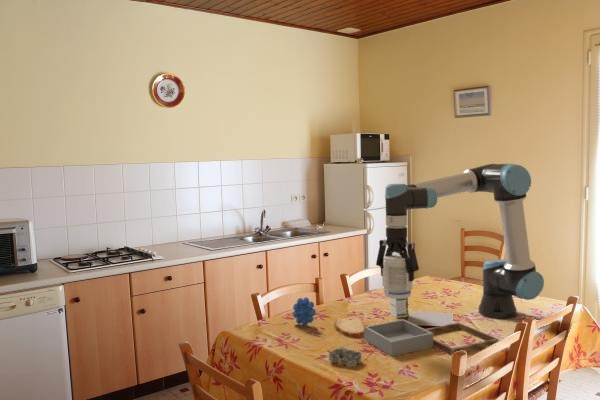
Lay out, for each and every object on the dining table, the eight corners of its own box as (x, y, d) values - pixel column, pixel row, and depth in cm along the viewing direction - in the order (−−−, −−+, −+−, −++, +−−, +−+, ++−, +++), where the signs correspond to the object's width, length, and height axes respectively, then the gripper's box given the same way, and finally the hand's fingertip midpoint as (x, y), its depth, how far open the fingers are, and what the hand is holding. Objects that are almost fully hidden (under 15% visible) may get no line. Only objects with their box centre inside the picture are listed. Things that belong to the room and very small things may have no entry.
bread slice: (362, 340, 193) (361, 330, 193) (321, 332, 203) (321, 323, 203) (382, 326, 208) (382, 317, 207) (343, 319, 218) (343, 310, 218)
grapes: (322, 325, 210) (321, 296, 209) (312, 329, 205) (311, 300, 204) (300, 320, 218) (299, 292, 217) (289, 324, 212) (288, 296, 211)
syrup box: (396, 318, 216) (395, 284, 215) (389, 314, 222) (389, 281, 220) (408, 316, 218) (407, 283, 216) (401, 312, 223) (401, 280, 222)
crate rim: (458, 327, 203) (458, 322, 203) (498, 344, 184) (498, 339, 184) (414, 336, 194) (414, 331, 194) (452, 355, 175) (452, 349, 175)
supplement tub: (416, 296, 185) (416, 256, 184) (397, 301, 180) (396, 260, 179) (397, 290, 193) (396, 252, 192) (378, 295, 188) (377, 256, 187)
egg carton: (325, 362, 174) (325, 350, 174) (338, 355, 180) (338, 343, 179) (352, 369, 167) (351, 357, 167) (364, 362, 173) (364, 350, 173)
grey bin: (403, 331, 200) (403, 319, 200) (433, 346, 184) (433, 333, 183) (364, 339, 193) (363, 326, 192) (391, 356, 176) (391, 342, 176)
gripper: (365, 225, 190) (366, 284, 192) (417, 230, 174) (417, 295, 176) (377, 223, 195) (378, 280, 197) (429, 227, 179) (429, 290, 181)
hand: (397, 287), depth 186 cm, fingers closed on supplement tub, 10 cm apart
